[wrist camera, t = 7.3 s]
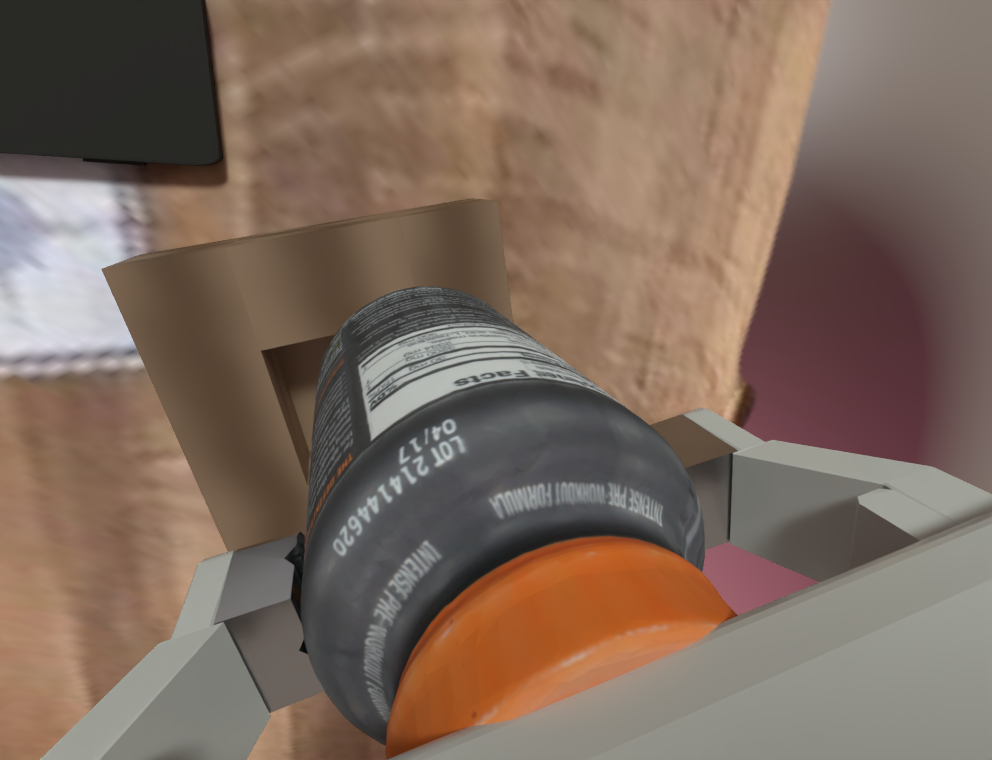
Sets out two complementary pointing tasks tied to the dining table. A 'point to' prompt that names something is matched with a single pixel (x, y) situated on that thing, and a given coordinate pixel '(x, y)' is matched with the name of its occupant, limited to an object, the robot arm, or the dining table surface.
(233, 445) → the walnut holder
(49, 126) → the smart home device
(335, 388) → the pill bottle
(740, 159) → the dining table surface
